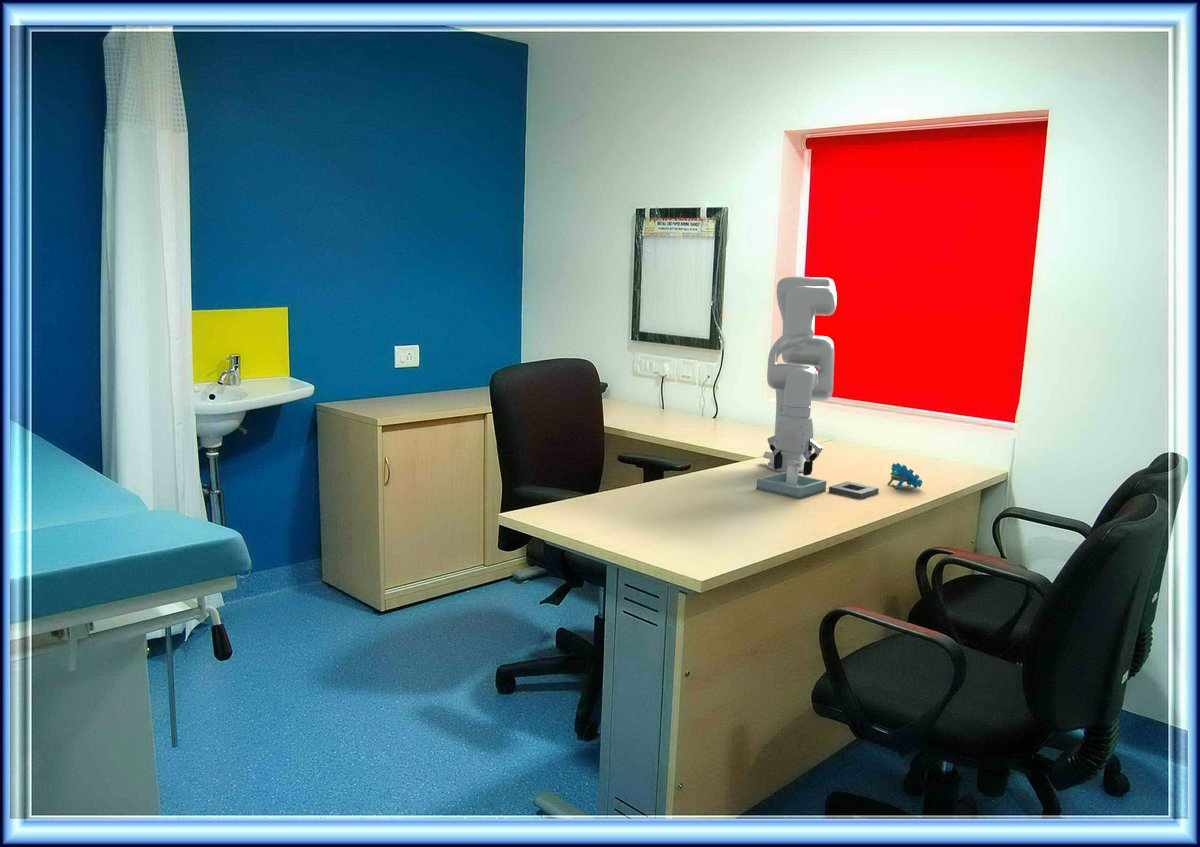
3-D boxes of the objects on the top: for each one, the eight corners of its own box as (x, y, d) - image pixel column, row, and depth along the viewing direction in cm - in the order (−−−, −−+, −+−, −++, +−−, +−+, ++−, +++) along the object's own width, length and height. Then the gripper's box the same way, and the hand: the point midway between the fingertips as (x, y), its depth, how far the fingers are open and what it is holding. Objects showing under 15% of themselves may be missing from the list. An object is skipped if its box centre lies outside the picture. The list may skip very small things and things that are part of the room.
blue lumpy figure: (930, 485, 258) (910, 462, 256) (918, 501, 257) (897, 477, 255) (905, 482, 269) (885, 459, 266) (893, 496, 268) (873, 474, 265)
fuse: (782, 487, 255) (784, 461, 253) (789, 485, 257) (791, 459, 256) (793, 489, 252) (795, 463, 251) (800, 487, 255) (802, 461, 253)
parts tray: (756, 489, 255) (757, 478, 254) (783, 481, 265) (784, 471, 264) (798, 499, 245) (799, 488, 245) (825, 491, 255) (826, 480, 254)
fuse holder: (828, 491, 254) (829, 486, 254) (846, 486, 261) (847, 481, 261) (860, 498, 247) (861, 493, 247) (878, 493, 254) (878, 488, 254)
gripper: (763, 409, 254) (759, 468, 257) (816, 417, 242) (812, 479, 245) (777, 406, 259) (774, 464, 262) (831, 415, 248) (826, 475, 251)
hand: (792, 471), depth 254 cm, fingers open, 9 cm apart
